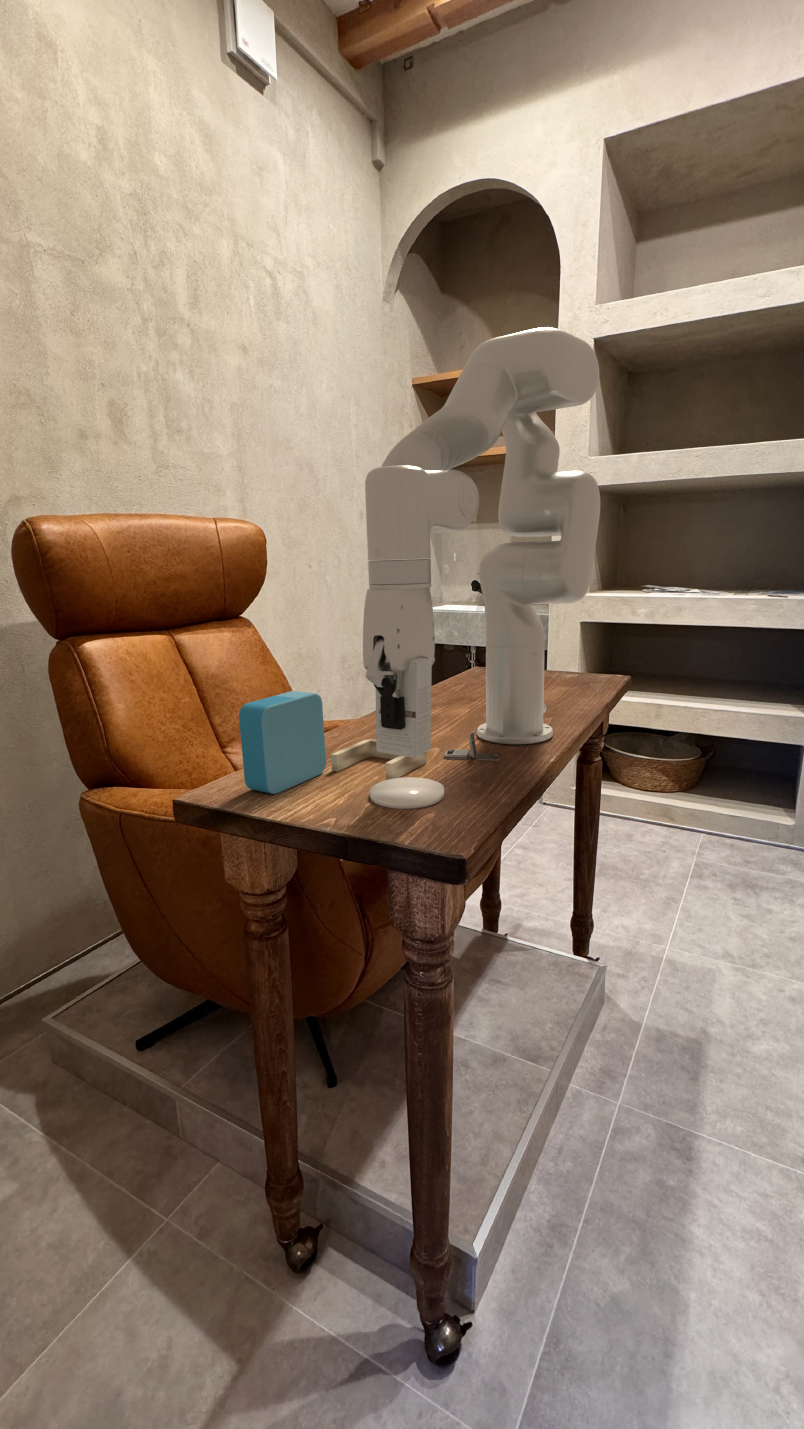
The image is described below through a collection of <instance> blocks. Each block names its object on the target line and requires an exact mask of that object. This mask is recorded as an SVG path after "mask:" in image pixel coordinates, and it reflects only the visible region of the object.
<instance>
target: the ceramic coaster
mask: <svg viewBox="0 0 804 1429" xmlns="http://www.w3.org/2000/svg"><path fill="white" fill-rule="evenodd" d="M444 797H445V787H444V785H443V784H442V783H440V782H438V781H436V780H433V779H430V778H423V777H411V776H408V777H406V776H405V777H399V778H394V779H389V780H386V779H385V780H382V781H380V782H377V783H376V784H374V785H373V786H371V787H370V788H369V799H370V800H371V801H372V803H374V804H376V805H378V806H380V807H383V808H390V809H394V810H395V809H396V810H412V809H420V808H424V807H430V806H432V805H435V804H437V803H439V802H441V801H442V800H443V799H444Z"/></svg>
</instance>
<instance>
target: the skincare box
mask: <svg viewBox="0 0 804 1429" xmlns="http://www.w3.org/2000/svg"><path fill="white" fill-rule="evenodd" d="M432 666H433V665H432V658H431V657H423V658H418V659H414V660H412V661H410V664H409V669H408V670H407V671H405V672H403V678H402V689H401V696H400V697H404V701H405V728H404V729H402V730H399V729H391V728H384V727H382V726H381V706H380V697H379V696H378V695H377V689H376V688H375V737H376V738H375V739H376V750H377V752H381V753H387V754H393V755H399V756H406V757H418V756H420V755H422V754H424V753H426V754H427V752H429V751H430V750H431V749H432V738H431V737H432V669H433V668H432ZM387 671H392V670H391V669H390V666H387ZM387 678H389V679H390V681H391V682H392V683H393V679H394V676H387Z"/></svg>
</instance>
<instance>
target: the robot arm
mask: <svg viewBox="0 0 804 1429" xmlns="http://www.w3.org/2000/svg"><path fill="white" fill-rule="evenodd" d="M599 381H600V365H599V361H598V357H597V354H596V352H595V351H594V349H593V348H592V347H591V345H590V344H589V343H588V342H587V341H585V340H583V339H581V338H579V337H577V336H575V335H573V334H571V333H569V332H567V331H564V330H562V329H558V328H556V327H549V326H547V327H545V326H544V327H542V326H541V327H537V328H531V329H527V330H523V331H519V332H515V333H510V334H507V335H503V336H502V335H501V336H496V337H494V338H490V339H488V340H485V341H483V342H481V343H480V344H479V345H477V346H476V348H474V349H473V351H472V352H471V354H470V356H469V358H468V360H467V361H466V363H465V364H464V367H463V369H462V371H461V373H460V375H459V376H458V378H457V381H456V382H455V384H454V386H453V388H452V389H451V392H450V394H449V395H448V397H447V400H446V402H445V403H444V405H443V406H442V407H441V409H439V410H438V411H436V412H435V413H433V414H432V415H431V416H429V417H428V418H426V419H425V420H424V421H422V423H420V425H418V426H416V428H413V430H411V431H410V432H408V434H407V435H405V436H404V437H403V438H402V439H401V440H400V441H398V442H397V443H396V445H394V447H393V448H392V449H391V450H390V452H388V454H387V456H386V457H385V459H384V461H383V462H382V464H381V466H379V467H376V468H373V469H371V470H370V471H369V472H368V473H367V475H366V476H365V481H364V483H365V485H364V492H365V493H364V495H365V517H366V518H365V519H366V520H365V522H366V539H367V540H366V541H367V545H366V546H367V560H368V561H367V563H368V564H367V566H368V567H367V568H368V571H367V572H368V589H366V593H365V594H366V595H365V601H364V607H363V608H364V609H363V622H362V623H363V624H362V661H363V667H364V669H365V670H366V671H365V672H366V673H365V678H366V679H367V680H368V681H369V682H370V683H371V684H373V686H374V688H375V690H376V689H377V695H378V696H379V697H380V706H381V726H382V727H384V728H391V729H399V730H402V729H404V728H405V701H404V697H400V696H401V689H402V678H403V672H405V671H407V670H408V669H409V664H410V661H412V660H414V659H418V658H423V657H431V658H432V666H433V665H434V663H435V661H436V657H435V652H436V651H435V650H436V648H435V647H436V641H435V639H436V638H435V637H436V636H435V635H436V634H435V619H434V609H433V608H434V607H433V601H432V593H431V588H432V561H431V558H432V556H431V553H432V551H431V534H445V533H446V534H447V533H454V532H458V531H461V530H463V529H466V528H467V527H468V526H469V525H470V524H472V522H473V521H474V520H475V519H476V517H477V514H478V512H479V509H480V508H479V507H480V493H479V490H478V487H477V485H476V483H475V482H474V480H473V479H472V478H471V477H470V476H469V475H467V473H465V472H463V471H461V470H458V469H454V468H456V467H458V466H460V465H463V464H466V463H467V462H469V461H471V460H473V459H476V458H477V457H479V456H481V455H482V454H484V453H486V452H487V451H489V450H490V449H491V448H493V447H494V445H495V444H496V442H497V441H498V440H499V437H500V434H501V433H502V435H503V438H504V443H505V444H504V445H505V457H504V458H505V459H504V466H503V473H502V481H501V487H500V495H499V501H498V502H499V503H498V512H497V514H498V515H497V518H498V523H499V527H500V529H501V530H502V532H503V533H505V534H506V535H507V536H511V537H517V538H533V537H534V538H535V537H537V538H539V537H558V536H561V537H560V540H545V541H544V540H543V541H542V540H541V541H536V540H535V541H516V542H515V541H512V542H504V543H500V544H497V545H495V546H493V547H491V548H489V549H488V550H487V551H486V552H485V553H484V554H483V555H482V558H481V560H480V563H479V567H478V568H479V569H478V571H479V572H478V575H479V576H478V577H479V583H480V584H479V585H480V589H481V594H482V599H483V605H484V617H485V706H486V707H485V718H486V720H485V722H484V723H481V724H480V725H479V726H477V728H476V735H477V736H478V737H479V738H480V739H482V740H484V741H486V742H490V743H496V744H503V745H504V744H505V745H527V744H528V745H529V744H536V743H540V742H541V743H542V742H546V741H547V740H550V739H551V738H552V737H553V734H554V733H553V732H554V730H553V727H552V726H550V725H549V724H546V723H544V713H546V711H547V705H546V704H545V702H544V699H545V696H544V693H545V642H546V636H545V635H546V632H545V626H544V625H543V622H542V619H541V618H540V616H539V615H538V614H537V612H536V610H535V609H534V606H532V605H536V604H543V605H546V604H550V605H551V604H552V605H554V604H560V605H561V604H564V605H565V604H567V605H568V604H574V603H577V602H580V601H581V600H583V599H584V597H585V596H586V595H587V592H588V590H589V587H590V585H591V579H592V574H593V573H592V572H593V566H594V559H595V552H596V546H597V539H598V538H597V537H598V530H599V525H600V523H599V522H600V516H601V514H600V513H601V495H600V488H599V485H598V483H597V480H596V479H595V477H594V476H593V475H591V473H589V472H587V471H584V470H583V471H582V470H568V471H558V469H559V461H560V460H559V459H560V452H561V451H560V450H561V449H560V445H559V442H558V439H557V438H556V436H555V435H554V433H553V431H552V430H551V429H550V428H549V426H547V424H545V422H543V420H542V419H541V418H540V417H539V415H538V414H537V413H539V412H545V411H552V410H554V411H555V410H561V409H566V408H571V407H577V406H582V405H584V404H587V403H588V402H589V401H590V400H591V399H592V398H593V397H594V395H595V393H596V391H597V389H598V385H599ZM387 666H390V669H391V670H392V671H387ZM387 676H394V679H393V683H392V682H391V681H390V679H389V678H387Z"/></svg>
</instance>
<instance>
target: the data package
mask: <svg viewBox="0 0 804 1429" xmlns="http://www.w3.org/2000/svg"><path fill="white" fill-rule="evenodd" d="M323 708H324V707H323V700H322V696H320V694H318V693H316V692H308V691H300V690H299V691H296V690H291V691H287V692H284V693H280V694H276V695H272V696H269V697H265V698H262V699H258V700H254V701H251V702H247V703H245V704H243V705H242V706H241V707H240V710H239V713H238V721H239V723H238V724H239V733H240V743H241V756H242V764H243V776H244V783H245V785H246V788H248V789H249V790H254V791H258V792H263V793H267V794H272V795H277V794H279V793H281V792H282V793H283V792H284V791H286V790H289V789H291V788H292V787H296V786H298V785H300V784H302V783H304V782H307V781H309V780H311V779H314V778H315V777H317V776H319V775H321V774H322V773H323V772H325V771H324V770H325V769H326V764H327V756H326V742H325V741H326V740H325V738H326V737H325V725H324V711H323V710H324V709H323Z"/></svg>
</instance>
